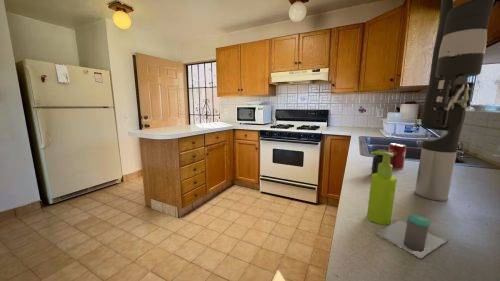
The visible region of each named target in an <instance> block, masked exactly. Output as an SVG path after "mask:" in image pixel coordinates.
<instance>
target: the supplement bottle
mask: <svg viewBox="0 0 500 281" xmlns="http://www.w3.org/2000/svg"><path fill="white" fill-rule="evenodd" d="M375 151H383V152H388V153H389V150H387V149H379V148H378V149H376V150H375ZM382 160H383V155H379V154H374V155H373V157H372V161H371V163H372V164H371V173H370V174H371V175H372V174H374V173H377V171H378V164H379V163H381V162H382Z"/></svg>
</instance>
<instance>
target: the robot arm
mask: <svg viewBox="0 0 500 281" xmlns="http://www.w3.org/2000/svg"><path fill="white" fill-rule="evenodd" d="M454 1H456V0H441V2H440V10H439V11H440V12H439V19H438V28H437V33H436V37H435V41H434V47H433V51H432V58H431V66H430V74H429V81H428V87H427V90H426V95H425V98H424V103H423V107H422V112H421V117H420V126H421V128H422V129H424V130H425V129H426V130H434V131H447V133H446V134H444V135H442V136H439V137H434V138H428V139H424V140H423V142H422V143H421V151H420V158H419V161H418V162H419V164H418V170H417V176H416V181H415V187H414V193H415V194H416V195H418V196H420V197H422V198H425V199H429V200H432V201H439V202H440V201H441V202H442V201H445V202H446V201H447V200H448V199H449V195H450V190H451V185H452V178H453V173H454V168H455V162H456V159H457V158H456V157H457V153H458V147H459V143H460V142H459V141H460V136H461V132H462V128H463V125H464V122H465V117H466V110H467V108H470V106H471V101H472V96H473V91H474V90H473V89H474V86H475V82H474V81H472V82H469V78H470V77H476V76H479V75H480V74H481V73H482V67H483V62H484V57H485V52H486V47H487V41H488V29H489V25H490V24H489V23H490V19H491V16H492V14H491V13H492V10H493V7H494V5H495V4H494V3H495V1H496V0H469V1H466V2H464V3H461V4H458V5H457V6H455V3H454Z"/></svg>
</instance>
